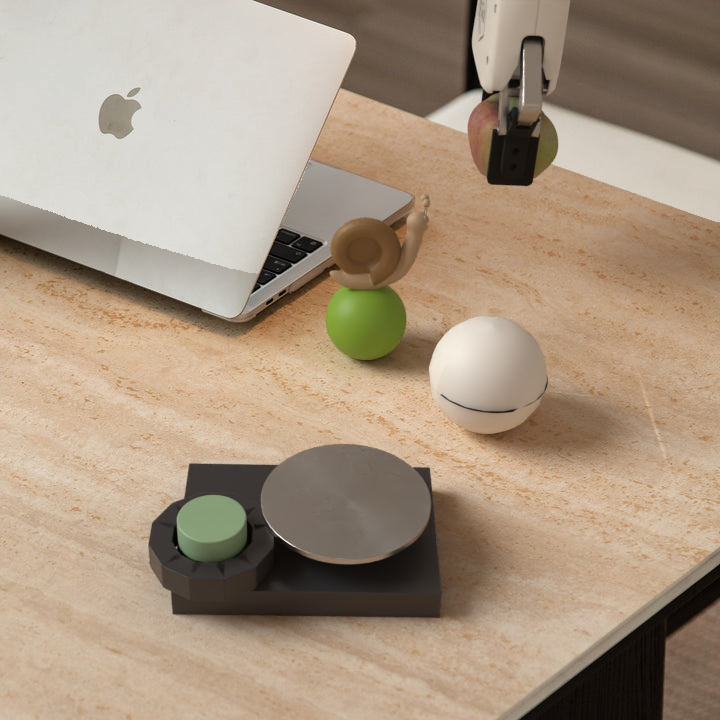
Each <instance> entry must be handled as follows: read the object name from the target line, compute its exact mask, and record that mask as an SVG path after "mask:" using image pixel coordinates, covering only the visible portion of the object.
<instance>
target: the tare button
mask: <svg viewBox="0 0 720 720" xmlns="http://www.w3.org/2000/svg"><path fill="white" fill-rule="evenodd" d="M177 533H178V544H179V547H180V549H181V550H182V552H183V553H184V554H185V555H186V556H188V557H189V558H191V559H193V560H195V561H198V562H202V563H219V562H224V561H226V560H229V559H231V558H233V557H235V556H236V555H238V554H239V553H240V552H241V551H242V549H243V548H244V546H245V544H246V541H247V517H246V512H245V510H244V509H243V507H242V506H241V505H240V504H239V503H238V502H237V501H235V500H233V499H231V498H229V497H226V496H221V495H206V496H201V497H198V498H195V499H193V500H191V501H189V502H188V503H186V504H185V505H184V506H183V507H182V508H181V510H180V511H179V513H178V516H177Z"/></svg>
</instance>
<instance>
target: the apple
mask: <svg viewBox="0 0 720 720" xmlns="http://www.w3.org/2000/svg"><path fill="white" fill-rule="evenodd" d="M499 99H500V93H497V94H494V95H492V96H490V97H489V98H488V99H486V100H484V101H482V102H481V101H480V102H479V103H478V104H477V105H476V106H475V107H474V108H473V109H472V111H471V113H470V115H469V118H468V121H467V138H468V145H469V149H470V153H471V157H472V160H473V163H474V164H475V167H476V169H477V170H478V172H479V173H480V174H481V175H482V176H483V177H486V178H487V169H488V161H489V154H490V146H491V138H492V131H493V129H497V128H498V113H499ZM518 102H519V97H510V101H509V111H511V109H512V107H518ZM508 116H509V115H508ZM558 152H559V136H558V131H557V129H556V127H555V124H554V123H553V121H552V120H551V119H550V118H549V117H548V116H547V115H546V113H545V112H544V111H543V110H542V112H541V124H540V139H539V145H538V151H537V158H536V164H535V171H534V177H533V180H534V179H536V178H538V177H539V176H540V175H542V173H544V171H546V170H547V169H548V168H549V167H550V166H551V165H552V163H553V162H554V161H555V160H556V158H557V155H558Z"/></svg>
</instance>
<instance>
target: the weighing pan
mask: <svg viewBox="0 0 720 720" xmlns="http://www.w3.org/2000/svg"><path fill="white" fill-rule="evenodd" d="M277 465H278V466H277V467H276V468H275V469H274V470H273V471H272V472H271V473H270V475H269V476H268V478H267V479H266V481H265V483H264V486H263V488H262V492H261V512H262V517H263V519H264V522H265V524H266V526H267V527H268V529H269V530H270V532H271V533H272V534H273V535H274V536H275V538H276V539H277V540H279V541H280V542H281V543H282V544H283V545H285V546H286V547H288V548H289V549H291V550H292V551H294V552H296V553H298V554H300V555H302V556H305V557H308V558H310V559H314V560H317V561H321V562H326V563H333V564H346V565H347V564H363V563H370V562H374V561H379V560H382V559H385V558H388V557H391V556H393V555H395V554H397V553H399V552H401V551H403V550H404V549H406V548H407V547H409V546H410V545H411V544H412V543H413V542H415V541H416V540H417V538H418V537H419V536H420V535H421V534H422V532H423V531H424V529H425V528H426V525H427V523H428V521H429V517H430V511H431V498H430V493H429V490H428V488H427V485H426V483H425V482H424V480H423V478H422V477H421V476H420V475H419V473H418V472H417V471H416V470H415V469H414V468H413V467H414V466H412V465H411V464H409V463H408V462H406V461H405V460H404V459H402V458H400V457H399V456H397V455H395V454H393V453H390V452H389V451H386V450H383V449H380V448H377V447H373V446H368V445H362V444H354V443H333V444H324V445H318V446H314V447H311V448H307V449H304V450H301V451H299V452H297V453H295V454H293V455H290V456H288V457H287V458H286V459H285V460H283V461H282V462H280V463H279V464H277Z"/></svg>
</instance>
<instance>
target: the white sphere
mask: <svg viewBox="0 0 720 720" xmlns="http://www.w3.org/2000/svg"><path fill="white" fill-rule="evenodd" d="M428 373H429V383H430V393H431V395H432V397H433V400H434V401H435V402H436V405H437V407H439V409H440V411H441V412H442V414H443V415H444V416H445V417H446V418H447V419H448V420H450V421H451V422H452V423H453V424H456V425H457V426H458V427H460V428H462V429H464V430H467V431H469V432H472V433H476V434H481V435H482V434H483V435H493V434H497V433H503V432H506V431H510V430H512V429H514V428H516V427H518V426H520V425H522V424H523V423H524V422H525V421H526V420H527V419H528V418H529V417H530V416H531V415H533V413H534V412H535V411H536V409H538V408H539V406H540V404H541V401H542V398H543V396H544V394H545V392H546V390H547V388H548V384H549V377H548V369H547V363H546V359H545V355H544V353H543V351H542V349H541V347H540V345H539V342H538V341H537V339H535V337H534V336H533V335H532V334H531V333H530V332H529V331H528V330H526V329H525V328H524V327H523V326H521V325H520V324H519V323H517V322H516V321H513V320H511V319H508V318H507V317H503V316H497V315H478V316H473V317H471V318H468V319H467V320H464V321H462V322H460V323H458V324H456V325H454V326H453V327H451V328H450V329H449V330H448V331H447V332H445V334H444V335H443V336H442V338H441V339H440V340H439V341H438V342H437V344H436V346H435V348H434V351H433V352H432V355H431V359H430V363H429V367H428ZM549 392H551V393H557V394H564V395H565V394H566V395H573V396H582V397H591V394H582V393H574V392H567V391H566V392H565V391H558V390H557V391H556V390H551V389H550V390H549Z"/></svg>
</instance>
